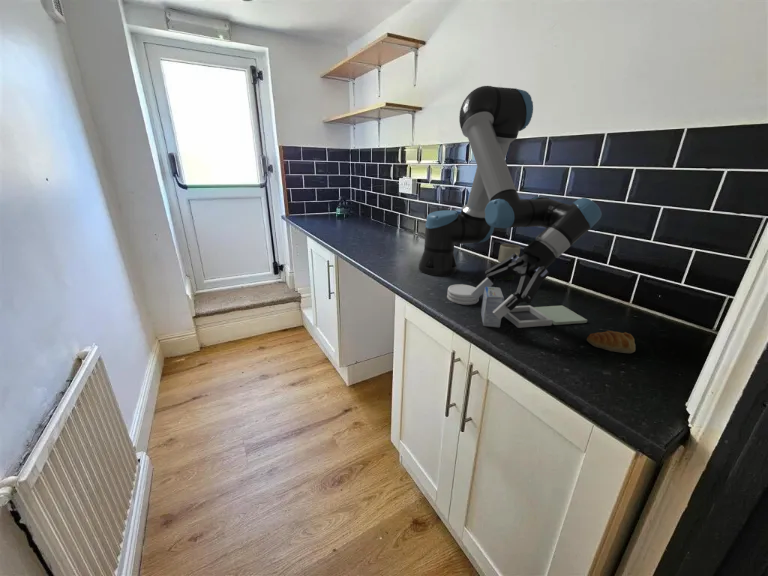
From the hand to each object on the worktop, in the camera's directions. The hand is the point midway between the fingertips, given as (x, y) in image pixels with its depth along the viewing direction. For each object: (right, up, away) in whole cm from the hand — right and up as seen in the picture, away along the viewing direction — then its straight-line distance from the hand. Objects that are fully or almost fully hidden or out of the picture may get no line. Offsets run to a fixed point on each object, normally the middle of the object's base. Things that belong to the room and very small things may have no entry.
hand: (483, 305), depth 87 cm
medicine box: (+2, -5, +2) cm, 6 cm away
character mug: (+19, +8, +36) cm, 41 cm away
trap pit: (+13, -4, +4) cm, 14 cm away
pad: (+23, -3, +6) cm, 24 cm away
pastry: (+28, -10, -9) cm, 31 cm away
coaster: (-2, +1, +17) cm, 17 cm away
